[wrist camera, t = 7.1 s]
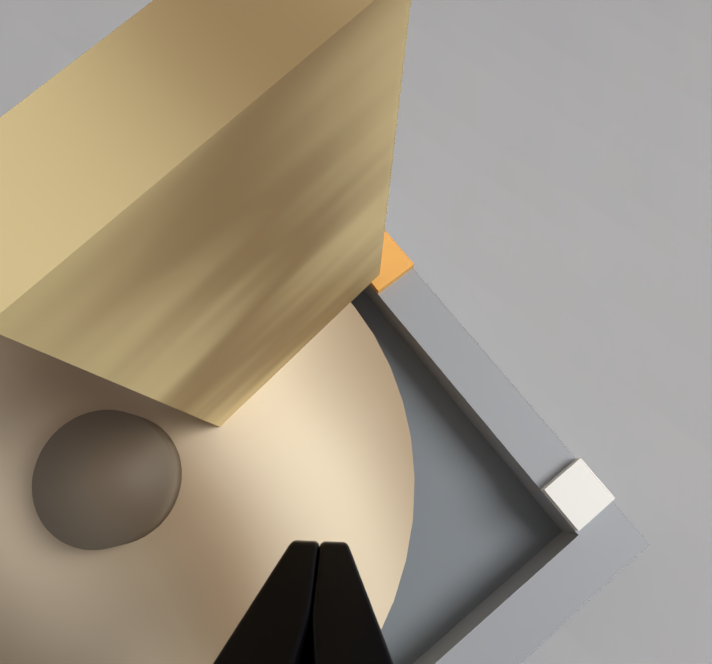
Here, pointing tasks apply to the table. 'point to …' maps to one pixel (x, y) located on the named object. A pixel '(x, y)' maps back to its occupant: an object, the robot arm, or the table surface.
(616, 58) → the table surface
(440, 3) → the table surface
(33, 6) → the table surface
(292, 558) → the robot arm
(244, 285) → the beige disc with bar
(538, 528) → the bezel plate
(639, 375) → the table surface
